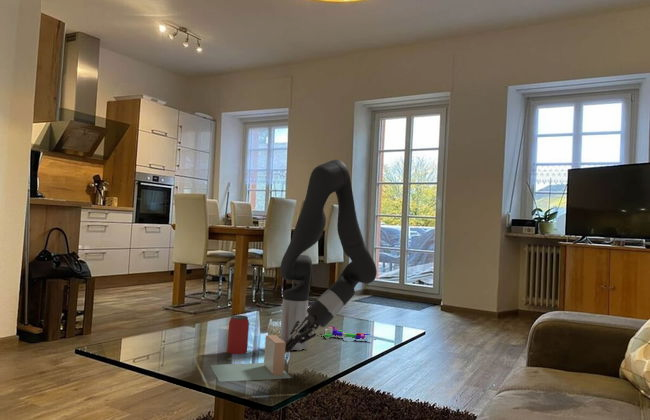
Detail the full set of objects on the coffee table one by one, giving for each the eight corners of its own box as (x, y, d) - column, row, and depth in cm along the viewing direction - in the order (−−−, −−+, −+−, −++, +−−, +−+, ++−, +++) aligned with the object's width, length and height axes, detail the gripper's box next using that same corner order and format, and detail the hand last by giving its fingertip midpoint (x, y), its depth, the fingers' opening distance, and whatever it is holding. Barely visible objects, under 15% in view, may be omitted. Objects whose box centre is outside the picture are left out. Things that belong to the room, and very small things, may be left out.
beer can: (229, 356, 152) (232, 318, 152) (224, 351, 158) (227, 315, 158) (249, 355, 155) (252, 318, 155) (243, 350, 161) (245, 314, 161)
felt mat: (275, 364, 146) (275, 362, 146) (291, 380, 131) (291, 377, 131) (209, 367, 138) (210, 365, 138) (219, 383, 123) (219, 381, 123)
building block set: (381, 337, 200) (381, 326, 200) (368, 346, 181) (369, 334, 181) (326, 330, 209) (326, 319, 209) (308, 338, 190) (309, 326, 190)
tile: (273, 365, 142) (275, 335, 143) (283, 374, 133) (285, 342, 134) (263, 365, 141) (265, 335, 142) (272, 375, 132) (274, 342, 132)
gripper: (310, 296, 149) (270, 336, 144) (326, 302, 137) (283, 346, 132) (324, 313, 151) (285, 353, 145) (341, 320, 139) (299, 364, 133)
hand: (284, 349), depth 138 cm, fingers closed
